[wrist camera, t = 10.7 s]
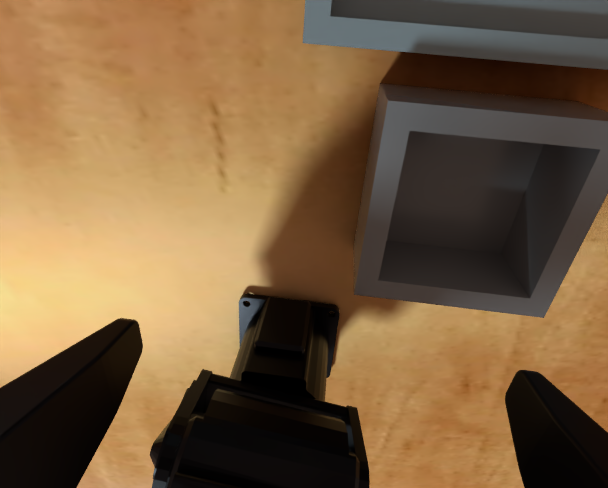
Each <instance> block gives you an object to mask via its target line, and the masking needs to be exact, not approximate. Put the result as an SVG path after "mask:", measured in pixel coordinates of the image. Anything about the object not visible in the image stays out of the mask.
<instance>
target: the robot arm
mask: <svg viewBox="0 0 608 488" xmlns="http://www.w3.org/2000/svg"><path fill="white" fill-rule="evenodd" d="M245 301H249V302H250V303H246V302H245ZM330 311H333V312H334V313H329V312H330ZM338 321H339V308H338V307H337V306H336V305H333V304H326V303H318V302H310V301H302V300H293V299H285V298H277V297H269V296H261V295H253V294H244V295H242V296H241V298H240V301H239V331H240V349H239V352H238V355H237V358H236V361H235V364H234V367H233V369H232V372H231V375H230V378H228V377H224V376H220V375H216V374H212V371H208V370H204V369H203V370H202V371H201V373H200V375H199V377H198V379H197V380H194V381H193V383H192V384H191V386H190V388H188V389H187V390H186V392H185V395H184V397H183V399H182V402H181V404H180V406H179V408H178V410H177V411H176V413H175V415H174V417H173V418H172V420H171V421H170V422H169V424H168V425H167V426H166V427H165V429H164V430H163V431H162V432H161V434H160V435H159V436H158V437H157V439H156V440H155V441H154V443H153V445H152V448H151V451H150V457H151V459H152V462H153V464H154V466H155V469H154V474H153V479H154V480H153V485H152V488H369V467H368V461H367V456H366V451H365V446H364V441H363V436H362V431H361V426H360V420H359V415H358V410H357V408H356V407H352V406H348V405H347V406H346V407H344V406H340V405H336V404H332V403H328V402H325V391H326V378H328V377H329V376H330V372H331V365H332V359H333V353H334V346H335V340H336V333H337V327H338ZM142 348H143V344H142V338H141V333H140V328H139V324H138V322H137V321H136V320H132V319H124V318H120V319H117V320H115V321H114V322H112V323H110V324H108V325H107V326H105V327H103V328H102V329H100V330H98V331H96V332H95V333H93V334H91V335H90V336H88V337H86V338H85V339H83V340H81V341H79V342H78V343H76V344H74V345H73V346H71V347H69V348H67V349H66V350H64V351H62V352H61V353H59V354H57V355H56V356H54V357H52V358H50V359H49V360H47V361H45V362H44V363H42V364H40V365H38V366H37V367H35V368H33V369H32V370H30V371H28V372H27V373H25V374H23V375H21V376H20V377H18V378H16V379H15V380H13V381H11V382H9V383H8V384H6V385H4V386H3V387H1V388H0V488H76V487H77V486H78V484H79V482H80V480H81V478H82V476H83V474H84V473H85V471H86V469H87V467H88V465H89V463H90V462H91V460H92V458H93V456H94V454H95V452H96V450H97V449H98V447H99V445H100V443H101V441H102V439H103V438H104V436H105V434H106V432H107V430H108V428H109V426H110V425H111V423H112V421H113V419H114V417H115V415H116V413H117V411H118V409H119V406H120V404H121V402H122V399H123V397H124V394H125V392H126V390H127V387H128V385H129V382H130V380H131V378H132V375H133V373H134V370H135V368H136V365H137V363H138V361H139V358H140V356H141V353H142ZM505 403H506V408H507V413H508V418H509V423H510V428H511V433H512V438H513V443H514V448H515V452H516V457H517V462H518V466H519V470H520V474H521V477H522V481H523V484H524V487H525V488H608V432H606V431H605V430H604V429H603V428H602V427H601V426H600V425H598V424H597V423H596V422H595V421H594V420H593V419H592V418H590V417H589V416H588V415H587V414H586V413H585V412H584V411H583V410H581V409H580V408H579V407H578V406H577V405H576V404H575V403H573V402H572V401H571V400H570V399H569V398H568V397H567V396H565V395H564V394H563V393H562V392H561V391H560V390H559V389H558V388H556V387H555V386H554V385H553V384H552V383H551V382H550V381H548V380H547V379H546V378H545V377H544V376H543V375H541V374H540V373H538V372H535V371H527V370H519V371H518V372H517V373H516V374H515V376H514V378H513V380H512V382H511V384H510V386H509V388H508V390H507V392H506V396H505Z"/></svg>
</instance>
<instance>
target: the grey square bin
mask: <svg viewBox="0 0 608 488" xmlns="http://www.w3.org/2000/svg"><path fill="white" fill-rule="evenodd" d="M607 194H608V112H606V111H603V110H601V109H598V108H595V107H592V106H589V105H587V104H584V103H581V102H578V101H567V100H557V99H546V98H535V97H524V96H513V95H502V94H491V93H481V92H470V91H459V90H448V89H437V88H426V87H416V86H405V85H394V84H383V83H380V86H379V92H378V98H377V104H376V110H375V117H374V123H373V129H372V135H371V141H370V148H369V154H368V160H367V166H366V172H365V179H364V185H363V191H362V197H361V203H360V210H359V216H358V222H357V228H356V234H355V241H354V247H353V254H354V295H362V296H370V297H378V298H386V299H394V300H403V301H411V302H419V303H427V304H435V305H444V306H452V307H460V308H468V309H477V310H485V311H493V312H501V313H509V314H518V315H526V316H534V317H542V318H544V316H545V314H546V312H547V311H548V309H549V307H550V305H551V303H552V301H553V299H554V297H555V295H556V293H557V291H558V289H559V287H560V285H561V283H562V281H563V279H564V277H565V276H566V274H567V272H568V270H569V268H570V266H571V264H572V262H573V260H574V258H575V256H576V254H577V252H578V250H579V248H580V246H581V244H582V242H583V240H584V239H585V237H586V235H587V233H588V231H589V229H590V227H591V225H592V223H593V221H594V219H595V217H596V215H597V213H598V211H599V209H600V207H601V205H602V204H603V202H604V200H605V198H606V196H607Z"/></svg>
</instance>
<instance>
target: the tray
mask: <svg viewBox="0 0 608 488" xmlns="http://www.w3.org/2000/svg"><path fill="white" fill-rule="evenodd" d="M303 43H308V44H320V45H331V46H342V47H354V48H365V49H377V50H388V51H399V52H411V53H422V54H434V55H445V56H457V57H468V58H479V59H491V60H502V61H514V62H525V63H536V64H548V65H559V66H571V67H582V68H594V69H605V70H608V0H306V1H305V17H304V33H303Z"/></svg>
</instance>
